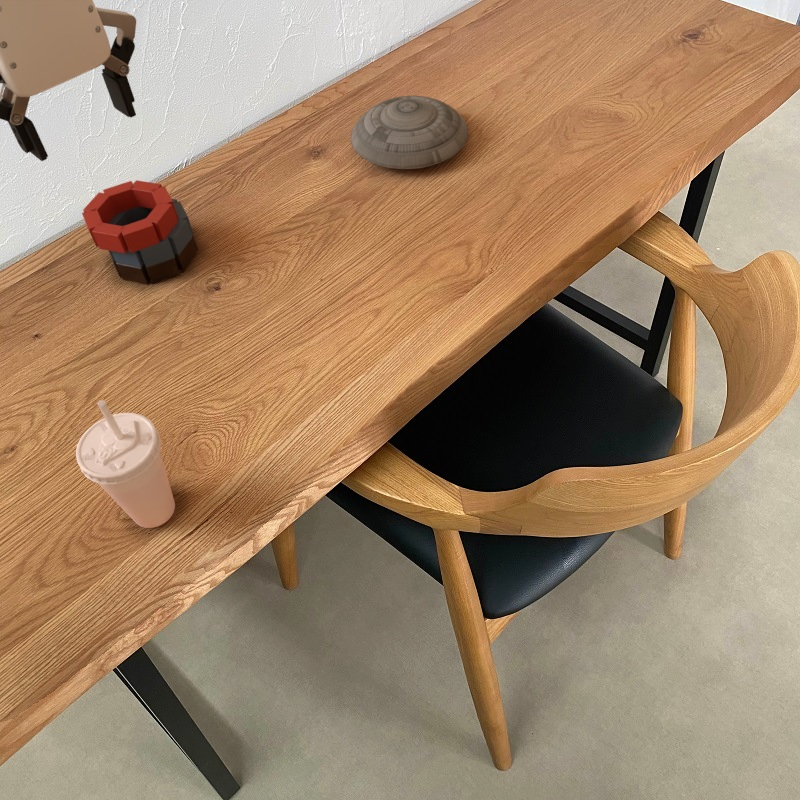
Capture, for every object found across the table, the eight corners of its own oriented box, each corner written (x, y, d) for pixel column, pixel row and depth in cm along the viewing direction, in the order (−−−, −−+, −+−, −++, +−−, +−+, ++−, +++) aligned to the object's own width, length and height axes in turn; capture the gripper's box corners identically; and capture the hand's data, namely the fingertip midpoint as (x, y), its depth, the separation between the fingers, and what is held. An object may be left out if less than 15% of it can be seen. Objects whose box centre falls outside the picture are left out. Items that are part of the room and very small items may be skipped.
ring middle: (119, 277, 85) (111, 259, 84) (101, 229, 91) (93, 212, 89) (201, 248, 88) (195, 231, 86) (178, 204, 93) (172, 187, 91)
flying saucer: (379, 192, 96) (375, 152, 92) (334, 131, 105) (329, 93, 101) (489, 156, 99) (490, 116, 95) (436, 101, 108) (435, 62, 104)
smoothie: (204, 492, 70) (157, 390, 59) (162, 552, 66) (103, 455, 56) (146, 469, 72) (89, 366, 61) (101, 526, 68) (33, 427, 58)
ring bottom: (126, 293, 87) (118, 277, 85) (107, 246, 93) (100, 230, 91) (206, 265, 89) (200, 249, 88) (183, 221, 95) (178, 204, 93)
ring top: (102, 263, 83) (94, 245, 81) (84, 216, 89) (75, 198, 87) (186, 233, 86) (180, 215, 84) (163, 189, 91) (157, 171, 89)
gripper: (76, -100, 70) (138, 84, 83) (-118, -33, 62) (-17, 157, 76) (121, -80, 66) (178, 109, 79) (-80, -7, 59) (19, 188, 72)
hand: (83, 132), depth 77 cm, fingers open, 9 cm apart
